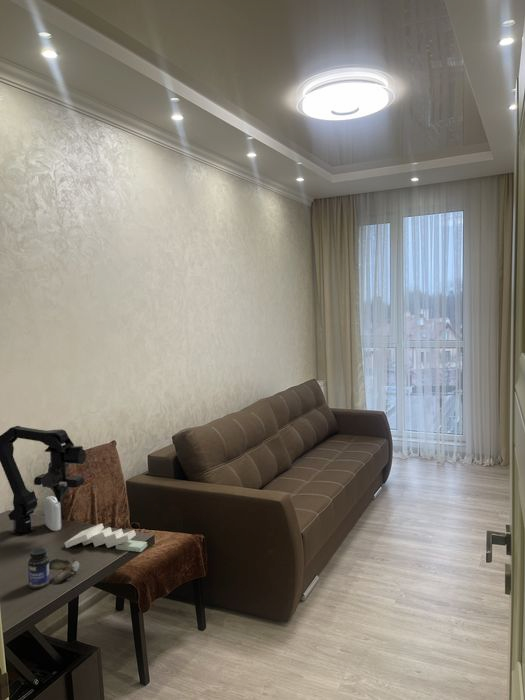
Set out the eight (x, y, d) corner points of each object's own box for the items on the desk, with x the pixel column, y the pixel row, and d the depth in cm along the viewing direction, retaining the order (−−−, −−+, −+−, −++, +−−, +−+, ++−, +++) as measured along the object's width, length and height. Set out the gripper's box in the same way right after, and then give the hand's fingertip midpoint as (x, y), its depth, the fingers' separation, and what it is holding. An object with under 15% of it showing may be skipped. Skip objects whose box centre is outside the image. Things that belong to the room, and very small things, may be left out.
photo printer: (43, 524, 218) (42, 495, 217) (54, 522, 221) (53, 492, 220) (51, 532, 210) (50, 501, 210) (62, 529, 213) (61, 499, 212)
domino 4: (105, 542, 196) (126, 535, 193) (112, 537, 200) (134, 529, 197) (107, 548, 196) (129, 540, 193) (114, 542, 200) (136, 534, 197)
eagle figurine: (68, 565, 180) (42, 569, 173) (76, 550, 178) (51, 554, 171) (76, 583, 175) (50, 589, 169) (85, 569, 173) (59, 574, 167)
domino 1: (64, 543, 196) (85, 534, 193) (81, 531, 207) (102, 523, 204) (66, 548, 196) (87, 539, 193) (83, 536, 207) (104, 528, 204)
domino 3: (92, 542, 197) (114, 533, 194) (99, 536, 202) (121, 528, 199) (94, 547, 197) (116, 538, 194) (101, 541, 202) (123, 533, 199)
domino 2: (81, 540, 198) (102, 532, 195) (89, 535, 203) (110, 526, 200) (83, 545, 198) (105, 537, 195) (91, 540, 203) (112, 531, 200)
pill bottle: (26, 590, 165) (25, 556, 165) (31, 581, 171) (30, 547, 171) (47, 588, 167) (46, 554, 166) (51, 579, 173) (50, 546, 172)
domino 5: (115, 544, 195) (140, 547, 192) (122, 539, 200) (146, 542, 197) (115, 550, 195) (140, 553, 192) (122, 544, 200) (147, 547, 197)
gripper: (23, 467, 200) (25, 507, 201) (67, 470, 196) (68, 511, 197) (42, 459, 211) (43, 497, 212) (84, 462, 207) (85, 501, 208)
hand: (59, 502), depth 207 cm, fingers closed
